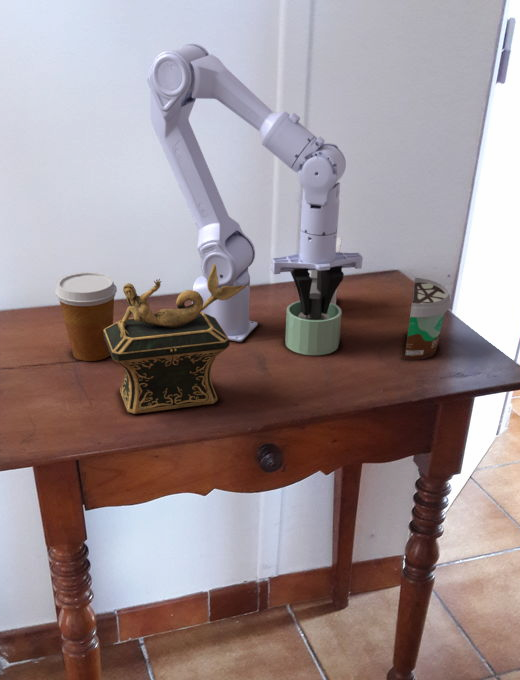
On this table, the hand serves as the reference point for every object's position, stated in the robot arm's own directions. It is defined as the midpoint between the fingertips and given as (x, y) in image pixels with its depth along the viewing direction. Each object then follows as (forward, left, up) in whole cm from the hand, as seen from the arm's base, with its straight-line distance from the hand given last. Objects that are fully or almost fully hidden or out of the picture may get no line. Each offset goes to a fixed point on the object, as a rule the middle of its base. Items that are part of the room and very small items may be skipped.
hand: (313, 312), depth 140 cm
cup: (0, 0, -6) cm, 6 cm away
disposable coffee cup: (-32, -18, -6) cm, 37 cm away
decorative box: (-13, -25, -6) cm, 29 cm away
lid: (0, 0, -1) cm, 1 cm away
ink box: (-3, +15, -6) cm, 17 cm away
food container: (+18, +5, -6) cm, 20 cm away
